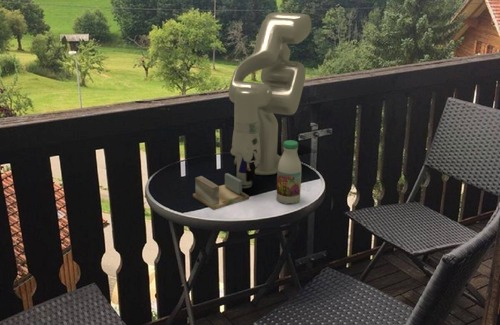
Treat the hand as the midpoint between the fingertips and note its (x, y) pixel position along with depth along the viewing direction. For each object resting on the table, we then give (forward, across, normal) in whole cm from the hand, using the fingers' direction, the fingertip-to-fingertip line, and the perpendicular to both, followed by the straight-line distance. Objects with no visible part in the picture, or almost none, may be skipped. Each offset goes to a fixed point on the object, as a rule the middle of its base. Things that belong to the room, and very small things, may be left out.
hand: (244, 177), depth 183 cm
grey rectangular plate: (+4, -1, +5) cm, 6 cm away
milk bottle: (+5, -14, -7) cm, 17 cm away
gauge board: (+5, 0, +11) cm, 12 cm away
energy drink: (+3, 0, 0) cm, 3 cm away
